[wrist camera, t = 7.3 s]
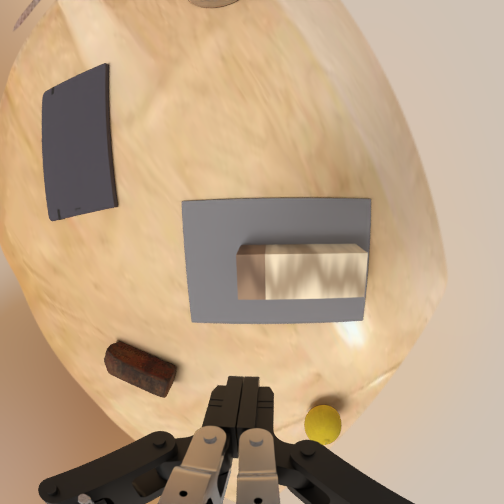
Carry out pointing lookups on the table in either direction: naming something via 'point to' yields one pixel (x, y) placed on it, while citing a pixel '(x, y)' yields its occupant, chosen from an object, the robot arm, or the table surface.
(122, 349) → the brick
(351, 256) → the tall block
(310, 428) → the lemon
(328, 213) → the rubber mat
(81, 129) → the notebook
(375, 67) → the table surface
